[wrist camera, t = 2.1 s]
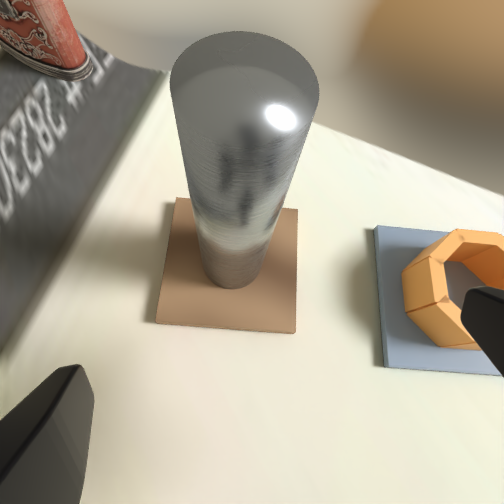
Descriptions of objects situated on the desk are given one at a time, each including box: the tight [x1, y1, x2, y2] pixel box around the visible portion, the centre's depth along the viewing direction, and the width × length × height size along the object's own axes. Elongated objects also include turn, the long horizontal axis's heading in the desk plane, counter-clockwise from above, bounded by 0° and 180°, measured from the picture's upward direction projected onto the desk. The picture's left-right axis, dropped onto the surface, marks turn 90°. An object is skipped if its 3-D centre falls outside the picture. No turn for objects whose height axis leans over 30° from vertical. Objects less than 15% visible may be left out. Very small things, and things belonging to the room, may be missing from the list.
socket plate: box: [374, 225, 504, 376], centre depth 19 cm, size 9×9×4 cm
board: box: [155, 197, 298, 334], centre depth 20 cm, size 8×8×1 cm
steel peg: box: [170, 31, 319, 289], centre depth 14 cm, size 4×4×13 cm
